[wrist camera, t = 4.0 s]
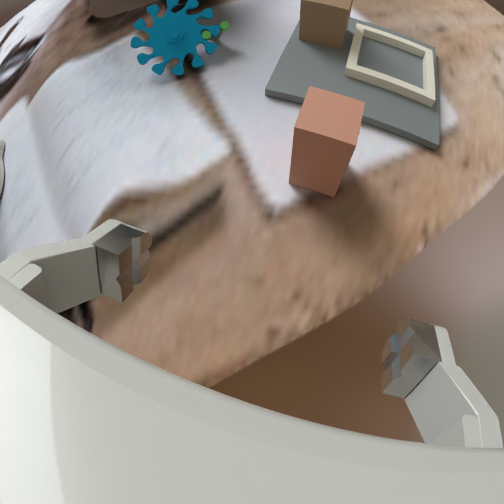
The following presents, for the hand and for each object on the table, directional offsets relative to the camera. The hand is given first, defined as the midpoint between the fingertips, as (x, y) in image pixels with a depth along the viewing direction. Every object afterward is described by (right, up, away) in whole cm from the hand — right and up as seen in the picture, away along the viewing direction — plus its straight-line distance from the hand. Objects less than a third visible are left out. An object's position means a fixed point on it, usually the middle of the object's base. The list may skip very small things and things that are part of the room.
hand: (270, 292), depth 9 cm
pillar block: (+5, +8, +17) cm, 20 cm away
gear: (-8, +24, +22) cm, 34 cm away
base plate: (+12, +22, +20) cm, 32 cm away
